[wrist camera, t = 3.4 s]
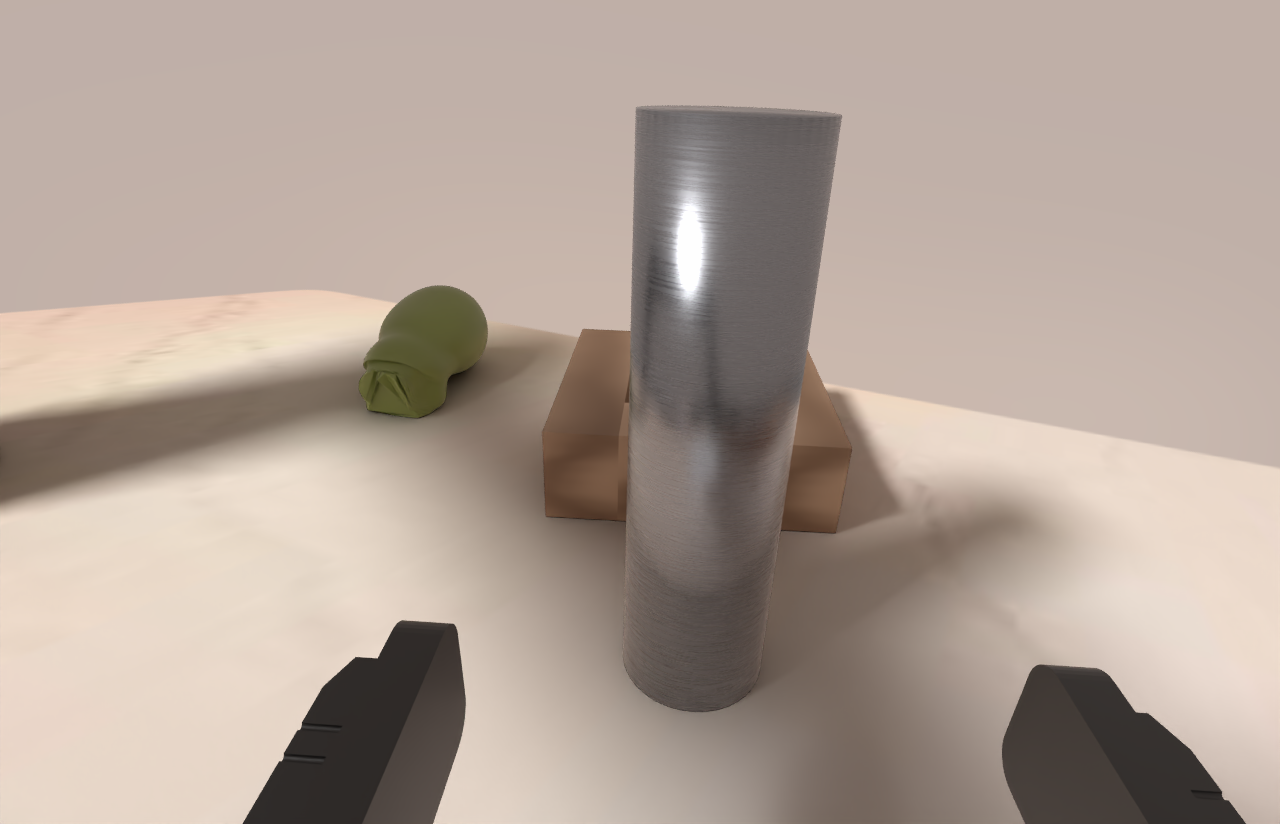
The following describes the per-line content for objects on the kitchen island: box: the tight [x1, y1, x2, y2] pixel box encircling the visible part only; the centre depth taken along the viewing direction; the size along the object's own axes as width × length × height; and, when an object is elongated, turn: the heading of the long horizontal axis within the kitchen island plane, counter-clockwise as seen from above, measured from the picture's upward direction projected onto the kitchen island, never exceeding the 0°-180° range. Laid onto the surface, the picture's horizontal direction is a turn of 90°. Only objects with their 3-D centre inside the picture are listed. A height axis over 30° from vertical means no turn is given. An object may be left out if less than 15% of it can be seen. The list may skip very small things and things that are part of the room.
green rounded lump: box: [359, 286, 488, 418], centre depth 39 cm, size 6×5×10 cm
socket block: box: [542, 329, 852, 533], centre depth 33 cm, size 12×12×4 cm
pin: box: [623, 106, 842, 712], centre depth 18 cm, size 4×4×16 cm
